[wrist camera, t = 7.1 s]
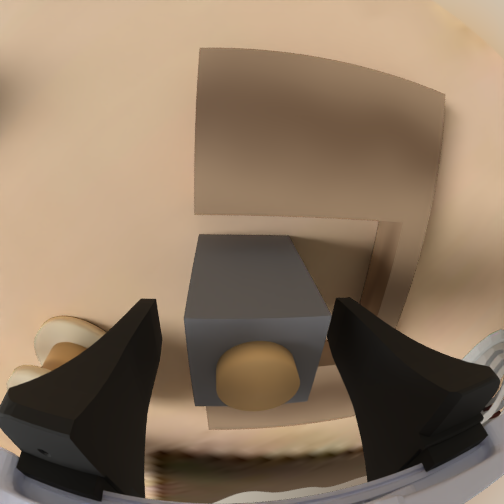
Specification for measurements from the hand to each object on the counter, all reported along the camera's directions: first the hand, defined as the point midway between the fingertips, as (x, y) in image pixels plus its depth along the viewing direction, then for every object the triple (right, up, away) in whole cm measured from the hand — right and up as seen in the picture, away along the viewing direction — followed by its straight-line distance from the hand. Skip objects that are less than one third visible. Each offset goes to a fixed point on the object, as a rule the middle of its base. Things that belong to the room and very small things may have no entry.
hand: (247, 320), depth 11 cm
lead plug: (0, +2, +2) cm, 3 cm away
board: (+3, +1, +3) cm, 4 cm away
